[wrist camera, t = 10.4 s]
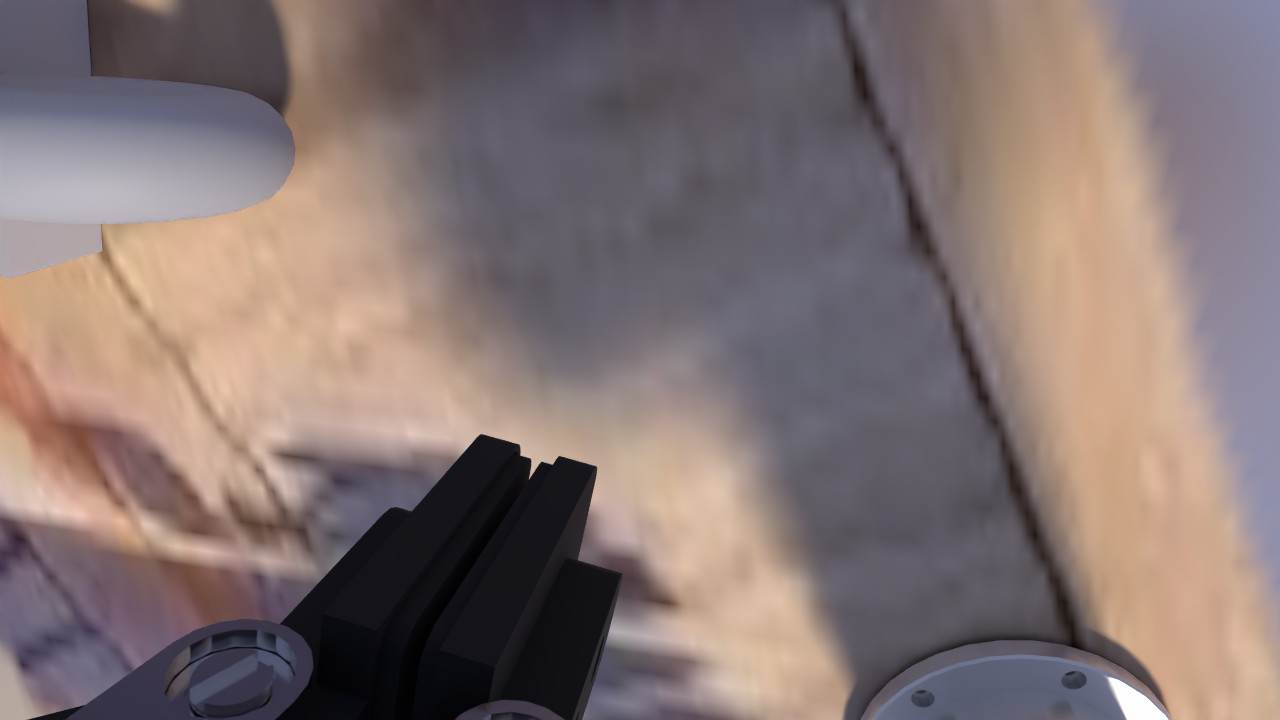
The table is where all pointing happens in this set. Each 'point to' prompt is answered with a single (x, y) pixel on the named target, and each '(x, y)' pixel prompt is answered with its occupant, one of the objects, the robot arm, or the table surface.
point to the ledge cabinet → (44, 44)
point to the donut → (134, 150)
